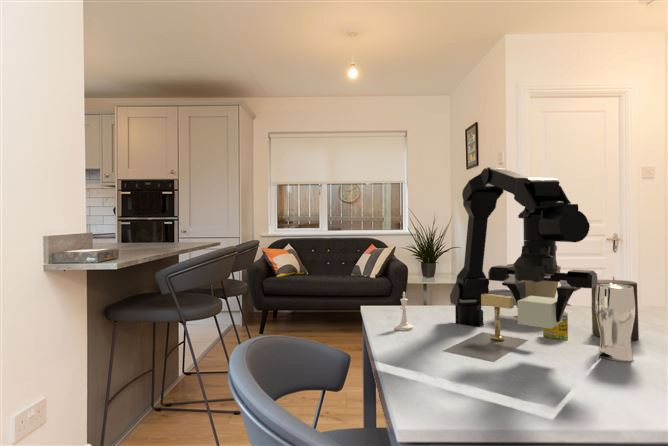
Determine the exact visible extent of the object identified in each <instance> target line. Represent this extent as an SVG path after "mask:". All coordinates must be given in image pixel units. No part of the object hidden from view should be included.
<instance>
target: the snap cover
mask: <svg viewBox="0 0 668 446" xmlns="http://www.w3.org/2000/svg"><path fill="white" fill-rule="evenodd" d="M517 303H518V309H517V318H518V324H517V325H522V324H523V326H528V325H529V327H534V326H535V328H536V327H537V328H542V329H543V328H550V329H552V328H553V327H555V326H556V325H558V324H559V323H561V322H562V321H563V317H561V320H560V322H556V308H557V297H555V298H549V297H539V296H528V297H526V298H523V299H521V300H518V301H517Z"/></svg>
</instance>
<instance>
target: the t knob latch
mask: <svg viewBox="0 0 668 446" xmlns="http://www.w3.org/2000/svg"><path fill="white" fill-rule="evenodd" d="M514 303H515V300H514V297H513V296H510V295H509V296H508V295H501V294H492V293H491V294H490V293H488V294H481V306H486V307H487V306H488V307H494V309H493V310H494V334H495V335H491V339H493V340H499V341H501V340H505V337H504V336H505V335H503V336H502V335H501V322H507V323H511V324H517V325H519V324H518V317H516V316H515V317H514V316H510V315H508V316H507V315H502V314H501V308H502V309H508V310H511V309H514V308H515V307H514V306H515V304H514ZM521 325H523V324H521ZM523 326H524V325H523ZM527 326H529V325H527ZM529 327H530V326H529ZM533 327H535V328H536V326H533Z"/></svg>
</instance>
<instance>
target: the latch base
mask: <svg viewBox="0 0 668 446" xmlns="http://www.w3.org/2000/svg"><path fill="white" fill-rule="evenodd" d="M491 335H495V333H490V332H484V331H481V332H480V333H477V334H475V335H473V336H471V337H469V338H466V339H464V340H463V341H460V342H458V343H456V344H454V345H452V346H450V347H447V348H446V349H443V350H442V352H445V353H450V354H454V355H460V356H464V357H469V358H474V359H477V360H482V361H485V362H486V361H487V362H492V363H495V362H496V361H498V360H499V359H502V358H503V357H504V356H506V355H507V354H509V353H511V352H512V351H514V350H516V349H517V348H518V347H520V346H521V345H523V344H525V343H527V342H528V341H529V339H526V338H520V337H514V336H513V337H512V336H509V335H502V336H504V337H505V340H501V341H499V340H493V339H491Z"/></svg>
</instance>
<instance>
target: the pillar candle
mask: <svg viewBox="0 0 668 446" xmlns="http://www.w3.org/2000/svg"><path fill="white" fill-rule="evenodd" d="M597 284H620V285H628V286H633V287H634V288H633V289H634V298H635V318H634V324H633V329H632V334H631V342H632V341H633V342H635V341H637V340H639V338H640V336H639V335H640V332H639V305H638V304H639V303H638V298H639V297H638V283H637V282H636V281H630V280H621V279H615V276H612V279H597ZM590 289H591V323H592V324H591V325H592V326H591V327H592V329H591V330H592V332H591V333H592V335H594V336H596V337H598V338H600V331H599V326H598V321H597V317H596V310H595V294H596V286H595V287H593V288H590Z"/></svg>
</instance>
